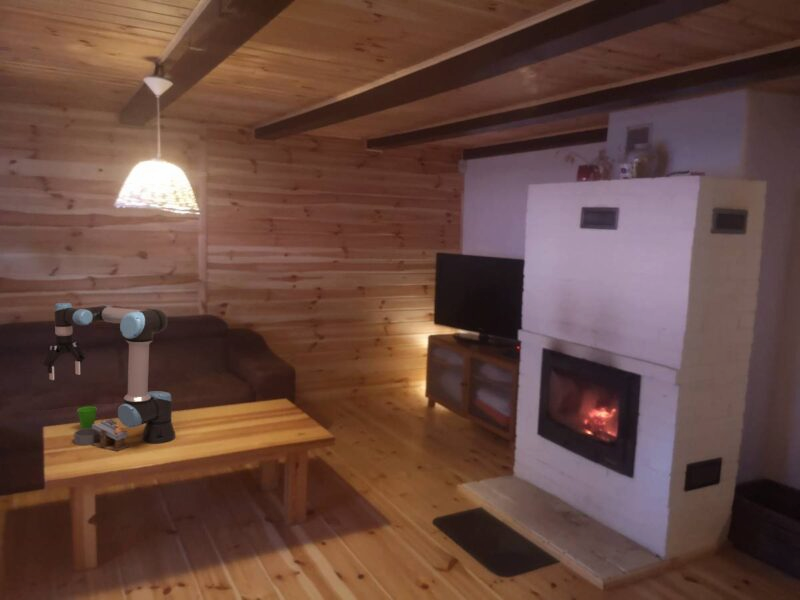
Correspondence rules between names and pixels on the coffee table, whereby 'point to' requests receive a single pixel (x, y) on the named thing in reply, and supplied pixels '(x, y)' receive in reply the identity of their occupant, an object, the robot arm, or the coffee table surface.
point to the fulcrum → (110, 442)
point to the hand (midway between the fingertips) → (65, 376)
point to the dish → (86, 436)
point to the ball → (118, 430)
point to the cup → (87, 416)
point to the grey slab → (109, 429)
